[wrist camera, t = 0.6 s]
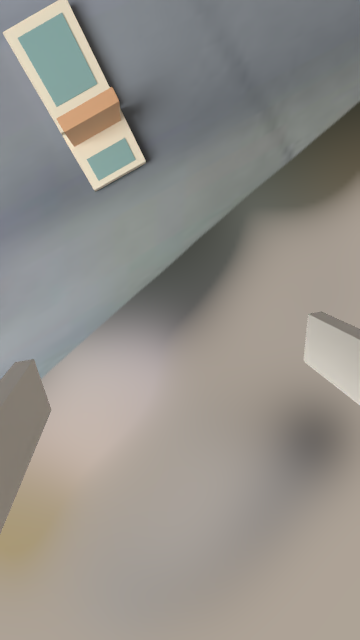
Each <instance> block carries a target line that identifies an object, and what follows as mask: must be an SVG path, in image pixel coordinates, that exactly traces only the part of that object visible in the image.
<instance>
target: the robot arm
mask: <svg viewBox="0 0 360 640" xmlns="http://www.w3.org/2000/svg"><path fill="white" fill-rule="evenodd" d="M304 362H305V363H306V364H308V365H309V366H311V367H312V368H313V369H314V370H315V371H317V372H318V373H319V374H321V375H322V376H323V377H325V378H326V379H327V380H328V381H329V382H331V383H332V384H333V385H335V386H336V387H337V388H338V389H340V390H341V391H342V392H344V393H345V394H346V395H347V396H349V397H350V398H351V399H353V400H354V401H355V402H356V403H358V404H359V405H360V329H358V328H356V327H354V326H352V325H350V324H348V323H345V322H343V321H341V320H339V319H337V318H334V317H332V316H330V315H328V314H326V313H323V312H318V313H311V314H308V321H307V332H306V341H305V353H304ZM50 412H51V407H50V404H49V402H48V399H47V396H46V393H45V390H44V388H43V384H42V381H41V378H40V376H39V373H38V370H37V367H36V364H35V361H34V359H32V360H26V361H20V362H15V363H14V364H13V365H12V367H11V368H10V369H9V370H8V372H7V373H6V374H5V375H4V376H3V378H2V379H1V380H0V533H1V530H2V528H3V526H4V523H5V521H6V518H7V516H8V513H9V511H10V509H11V506H12V503H13V501H14V499H15V497H16V494H17V492H18V489H19V487H20V485H21V482H22V480H23V477H24V475H25V472H26V470H27V467H28V465H29V463H30V460H31V458H32V456H33V453H34V451H35V448H36V446H37V443H38V441H39V439H40V436H41V434H42V431H43V429H44V426H45V424H46V422H47V419H48V417H49V414H50Z"/></svg>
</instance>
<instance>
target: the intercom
mask: <svg viewBox="0 0 360 640" xmlns="http://www.w3.org/2000/svg"><path fill="white" fill-rule="evenodd" d="M56 119H57V121H58V123H59V124H60V126H61V128H62V129H63V131H64V133H65V135H63V137H64V139H65V141H66V143H67V144H68V146H69V148H70V149H71V151H72V153H73V154H74V156H75V158H76V160H77V161H78V163H79V165H80V166H81V168H82V170H83V172H84V173H85V175H86V177H87V178H88V180H89V182H90V184H91V185H92V187H93V189H94V190H95V191H98V190H99V189H101V188H103V187H105V186H106V185H108V184H110V183H112V182H113V181H115V180H117V179H119V178H120V177H122V176H124V175H126V174H128V173H129V172H131V171H133V170H135V169H136V168H138V167H140V166H142V165H143V164H145V162H146V160H145V158H144V156H143V154H142V152H141V150H140V148H139V146H138V144H137V142H136V140H135V138H134V136H133V134H132V132H131V130H130V128H129V126H128V124H127V121H126V119H125V117H124V115H123V113H122V111H121V109H120V105H119V100H118V98H117V96H116V94H115V92H114V89H113V87H111V88H109V89H107V90H105V91H104V92H102V93H100V94H98V95H97V96H95V97H93V98H91V99H90V100H88V101H86V102H84V103H83V104H81V105H79V106H77V107H76V108H74V109H72V110H70V111H69V112H67V113H65V114H63V115H62V116H60V117H58V118H56Z"/></svg>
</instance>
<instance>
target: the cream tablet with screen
mask: <svg viewBox="0 0 360 640" xmlns="http://www.w3.org/2000/svg"><path fill="white" fill-rule="evenodd" d="M2 33H3V34H4V36H5V38H6V40H7V41H8V43H9V45H10V46H11V48H12V50H13V52H14V53H15V55H16V57H17V58H18V60H19V62H20V64H21V65H22V67H23V69H24V70H25V72H26V74H27V76H28V77H29V79H30V81H31V82H32V84H33V86H34V88H35V89H36V91H37V93H38V94H39V96H40V98H41V100H42V101H43V103H44V105H45V106H46V108H47V110H48V112H49V113H50V115H51V117H52V118H53V120H54V122H55V124H56V125H57V127H58V129H59V130H60V132H61V134H62V135H65V133H64V131H63V129H62V128H61V126H60V124H59V123H58V121H57V119H56V118H58V117H60V116H62V115H63V114H65V113H67V112H69V111H70V110H72V109H74V108H76V107H77V106H79V105H81V104H83V103H84V102H86V101H88V100H90V99H91V98H93V97H95V96H97V95H98V94H100V93H102V92H104V91H105V90H107V89H109V88H110V87H109V85H108V83H107V81H106V79H105V77H104V75H103V73H102V71H101V69H100V67H99V64H98V62H97V60H96V58H95V56H94V54H93V52H92V50H91V48H90V46H89V44H88V42H87V40H86V38H85V36H84V34H83V32H82V30H81V28H80V25H79V23H78V21H77V19H76V17H75V15H74V13H73V11H72V9H71V7H70V5H69V3H68V1H67V0H58V1H56V2H55V3H53V4H51V5H49V6H48V7H46V8H44V9H42V10H41V11H39V12H37V13H35V14H34V15H32V16H30V17H28V18H27V19H25V20H23V21H22V22H20V23H18V24H16V25H15V26H13V27H11V28H9V29H8V30H6V31H4V32H2Z"/></svg>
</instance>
